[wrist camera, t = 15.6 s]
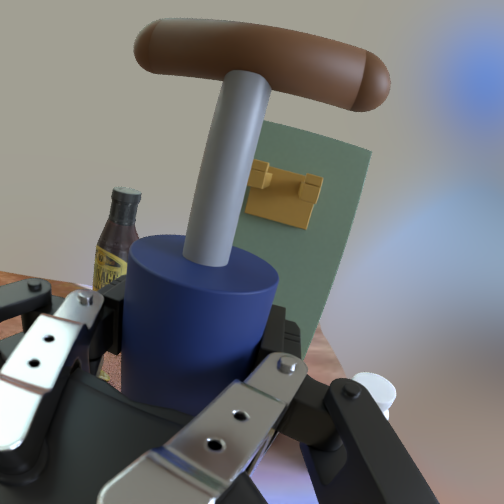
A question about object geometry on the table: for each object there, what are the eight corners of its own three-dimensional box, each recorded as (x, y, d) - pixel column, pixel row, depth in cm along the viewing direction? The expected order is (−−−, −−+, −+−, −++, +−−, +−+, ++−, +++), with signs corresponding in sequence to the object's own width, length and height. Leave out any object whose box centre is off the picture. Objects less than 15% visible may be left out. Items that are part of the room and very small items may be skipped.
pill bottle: (346, 436, 30) (389, 368, 27) (360, 475, 24) (413, 407, 21) (299, 436, 30) (337, 364, 27) (308, 477, 24) (356, 408, 21)
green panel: (265, 475, 23) (399, 143, 15) (148, 440, 24) (202, 91, 16) (274, 405, 34) (360, 154, 26) (181, 379, 35) (235, 121, 27)
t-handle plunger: (238, 484, 15) (374, 84, 9) (225, 540, 10) (420, 33, 5) (121, 444, 15) (171, 45, 10) (91, 492, 11) (115, -8, 5)
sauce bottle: (84, 314, 41) (93, 184, 35) (112, 303, 46) (125, 184, 41) (110, 334, 39) (123, 194, 33) (139, 320, 44) (156, 193, 39)
